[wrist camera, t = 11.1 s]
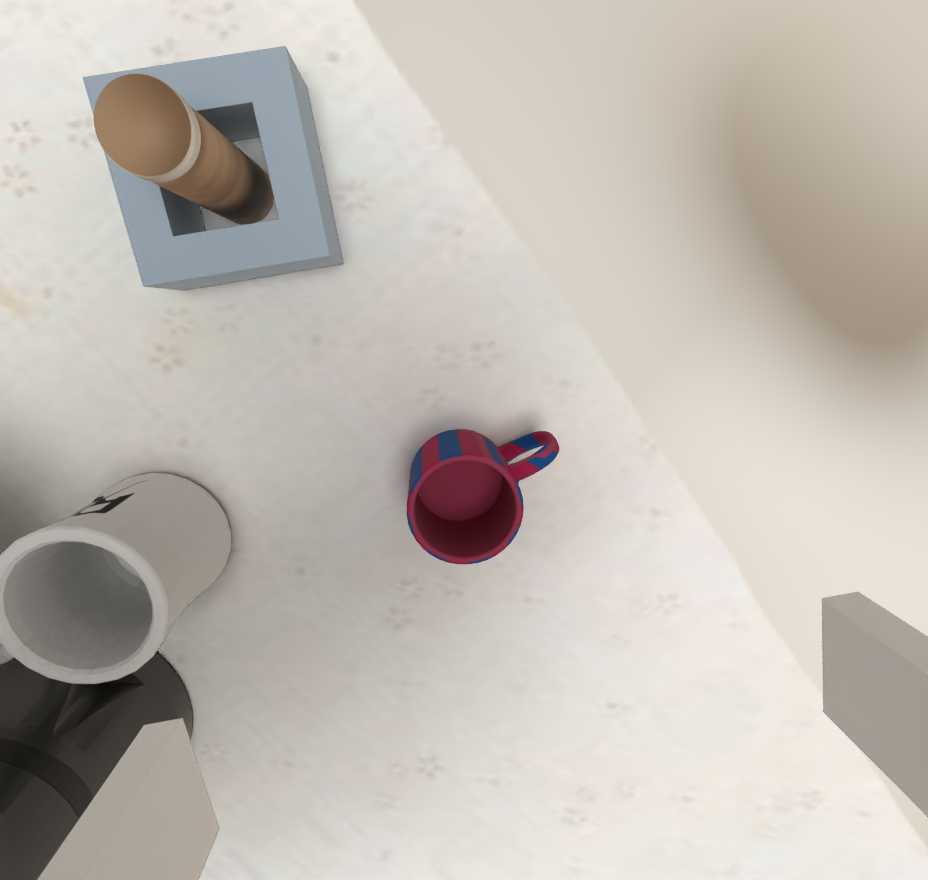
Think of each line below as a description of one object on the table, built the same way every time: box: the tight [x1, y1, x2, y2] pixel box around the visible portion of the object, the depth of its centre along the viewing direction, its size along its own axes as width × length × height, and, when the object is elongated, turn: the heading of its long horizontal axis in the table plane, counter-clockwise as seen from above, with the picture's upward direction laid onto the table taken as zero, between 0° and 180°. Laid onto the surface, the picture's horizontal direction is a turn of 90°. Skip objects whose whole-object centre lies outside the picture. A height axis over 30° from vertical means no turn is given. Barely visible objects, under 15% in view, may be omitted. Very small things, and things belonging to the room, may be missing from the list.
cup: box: [407, 430, 559, 564], centre depth 34 cm, size 7×10×7 cm
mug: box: [0, 473, 231, 684], centre depth 33 cm, size 12×9×10 cm
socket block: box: [83, 46, 343, 290], centre depth 31 cm, size 10×10×5 cm
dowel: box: [94, 73, 274, 224], centre depth 27 cm, size 4×4×12 cm
